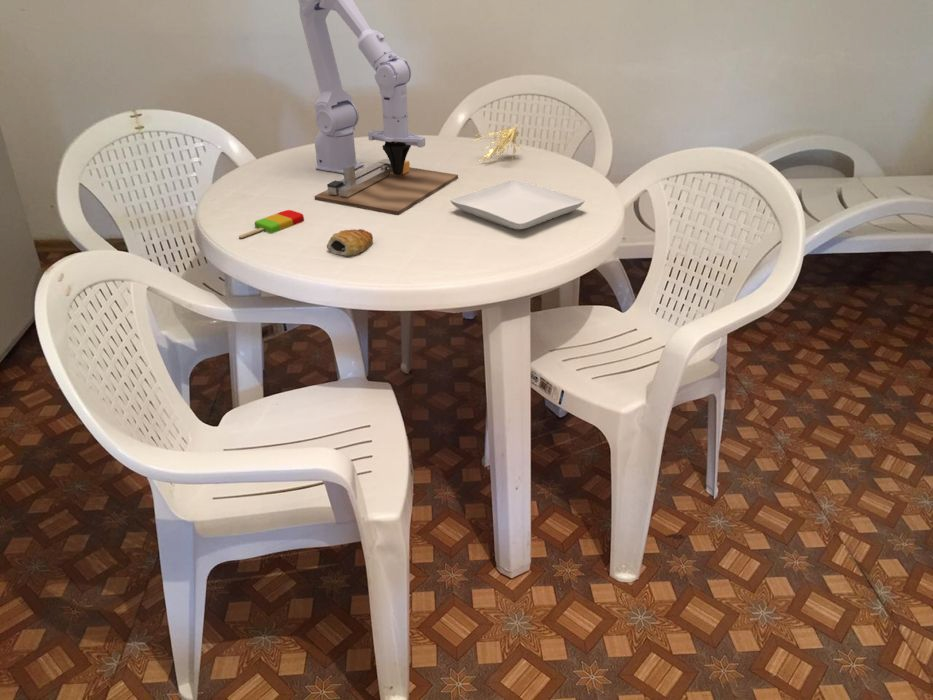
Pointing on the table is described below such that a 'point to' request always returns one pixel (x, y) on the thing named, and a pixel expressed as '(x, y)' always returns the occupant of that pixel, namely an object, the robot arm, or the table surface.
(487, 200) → the salad plate
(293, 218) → the popsicle
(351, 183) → the bar
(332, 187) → the tongs frame
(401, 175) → the walnut board
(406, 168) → the orange block
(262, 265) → the table surface
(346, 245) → the pastry
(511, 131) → the crumpled gold foil
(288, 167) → the table surface
